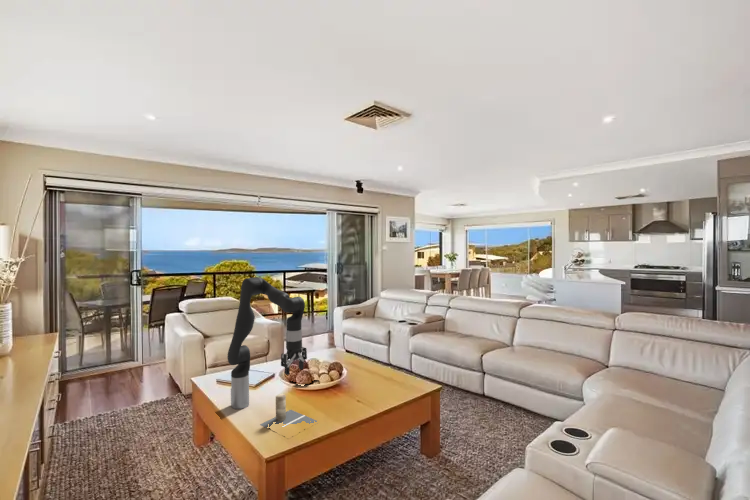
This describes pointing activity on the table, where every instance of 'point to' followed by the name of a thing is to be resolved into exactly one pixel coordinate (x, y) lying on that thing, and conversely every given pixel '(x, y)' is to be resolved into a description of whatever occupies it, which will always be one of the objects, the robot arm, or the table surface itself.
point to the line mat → (289, 419)
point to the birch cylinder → (280, 407)
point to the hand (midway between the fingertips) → (294, 371)
